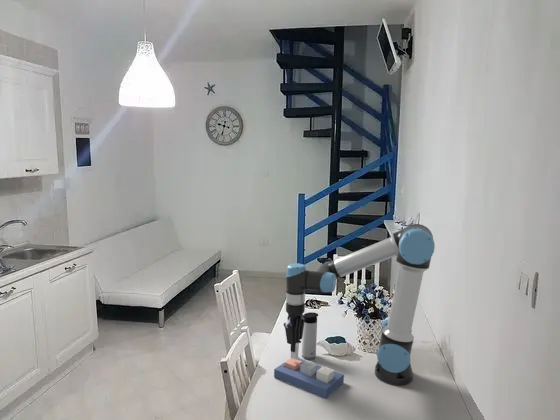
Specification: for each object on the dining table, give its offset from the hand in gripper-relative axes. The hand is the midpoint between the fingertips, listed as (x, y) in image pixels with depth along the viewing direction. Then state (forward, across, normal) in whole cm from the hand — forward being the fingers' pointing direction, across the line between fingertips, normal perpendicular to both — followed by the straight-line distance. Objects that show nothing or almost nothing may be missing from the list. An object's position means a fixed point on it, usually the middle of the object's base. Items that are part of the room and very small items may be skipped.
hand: (294, 358), depth 174 cm
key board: (+7, 0, +7) cm, 10 cm away
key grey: (+4, 0, +7) cm, 8 cm away
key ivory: (+4, 0, +15) cm, 15 cm away
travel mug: (+7, -17, -4) cm, 19 cm away
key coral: (+5, 0, 0) cm, 5 cm away
